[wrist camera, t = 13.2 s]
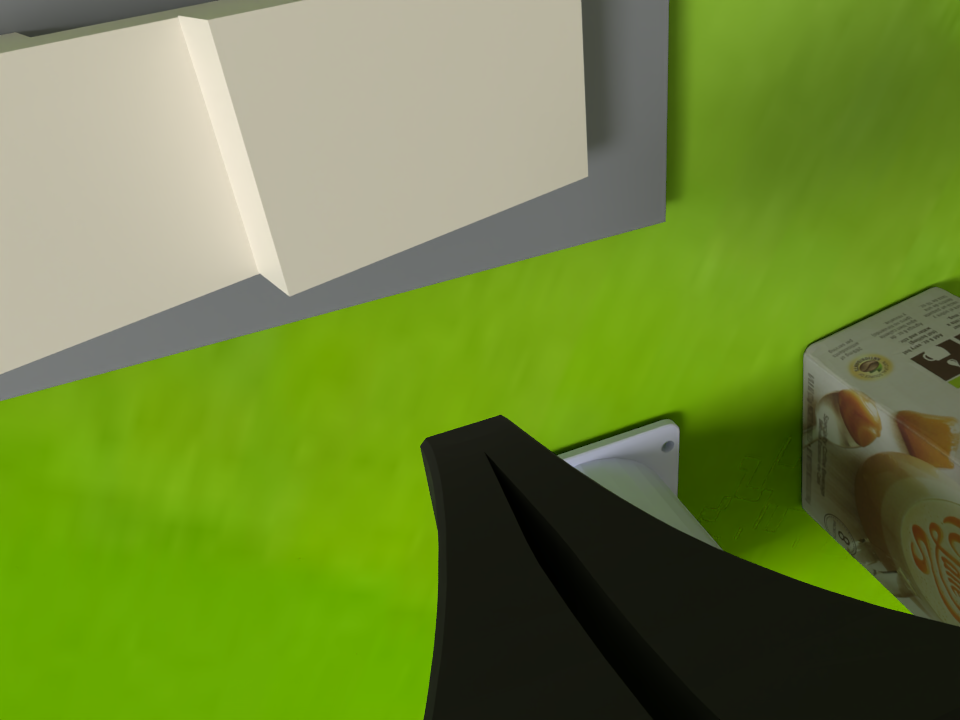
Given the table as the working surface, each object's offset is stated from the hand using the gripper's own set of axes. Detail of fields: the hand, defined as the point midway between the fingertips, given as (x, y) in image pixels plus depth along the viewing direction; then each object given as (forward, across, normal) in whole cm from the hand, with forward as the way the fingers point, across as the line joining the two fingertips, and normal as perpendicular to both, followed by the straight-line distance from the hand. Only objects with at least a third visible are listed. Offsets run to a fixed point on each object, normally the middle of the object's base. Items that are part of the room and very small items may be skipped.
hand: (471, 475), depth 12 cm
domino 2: (+8, -6, -4) cm, 11 cm away
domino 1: (+8, 0, -4) cm, 9 cm away
